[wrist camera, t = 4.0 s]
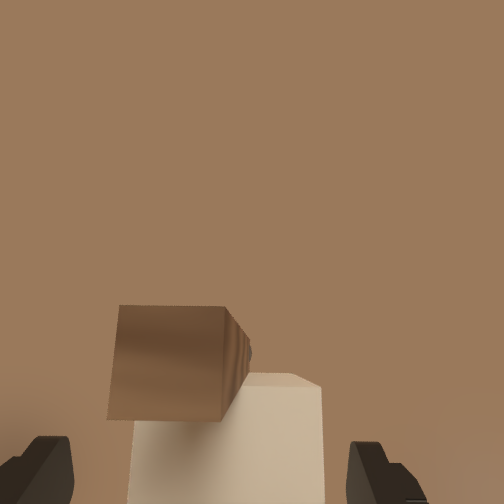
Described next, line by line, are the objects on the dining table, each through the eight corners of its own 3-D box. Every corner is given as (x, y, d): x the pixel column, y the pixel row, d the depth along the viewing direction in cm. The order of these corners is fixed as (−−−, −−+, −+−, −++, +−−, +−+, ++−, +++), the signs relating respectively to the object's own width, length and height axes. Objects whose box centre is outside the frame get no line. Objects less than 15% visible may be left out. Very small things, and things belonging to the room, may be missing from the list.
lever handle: (228, 422, 9) (232, 292, 10) (99, 420, 10) (114, 291, 10) (251, 372, 35) (252, 335, 35) (215, 371, 35) (217, 334, 36)
